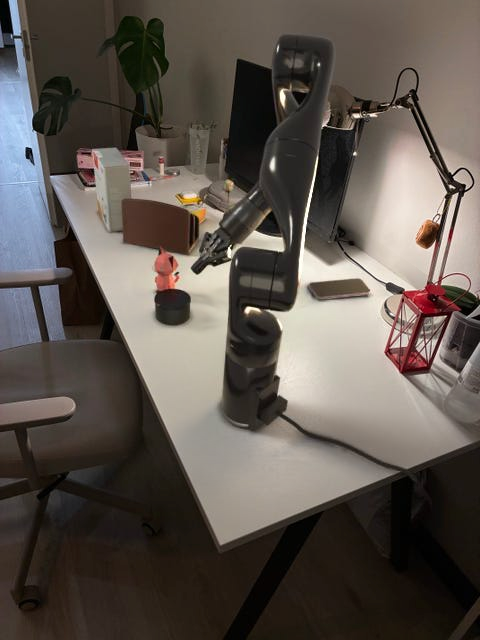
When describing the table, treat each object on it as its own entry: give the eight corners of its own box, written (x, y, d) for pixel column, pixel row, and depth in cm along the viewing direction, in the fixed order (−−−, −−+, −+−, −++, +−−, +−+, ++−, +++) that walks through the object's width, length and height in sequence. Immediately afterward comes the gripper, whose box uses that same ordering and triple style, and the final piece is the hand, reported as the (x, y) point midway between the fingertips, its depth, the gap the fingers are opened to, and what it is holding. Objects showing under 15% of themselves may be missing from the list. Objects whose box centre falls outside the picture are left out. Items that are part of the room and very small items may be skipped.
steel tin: (197, 316, 118) (198, 299, 115) (171, 330, 113) (170, 313, 110) (174, 301, 122) (174, 284, 120) (147, 314, 117) (146, 297, 114)
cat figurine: (147, 291, 125) (145, 248, 118) (170, 283, 129) (170, 241, 122) (162, 304, 121) (161, 260, 114) (186, 296, 125) (186, 253, 118)
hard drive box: (97, 211, 160) (91, 148, 149) (121, 209, 163) (117, 147, 152) (108, 232, 149) (103, 166, 137) (134, 229, 152) (130, 164, 140)
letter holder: (188, 255, 141) (189, 208, 133) (122, 243, 144) (119, 196, 136) (199, 240, 149) (200, 195, 141) (136, 229, 152) (134, 183, 144)
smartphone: (308, 282, 133) (360, 277, 136) (307, 286, 134) (359, 281, 137) (317, 297, 127) (372, 292, 130) (317, 301, 128) (371, 295, 131)
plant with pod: (249, 245, 149) (256, 179, 138) (214, 250, 145) (218, 183, 133) (238, 233, 155) (243, 169, 144) (204, 238, 151) (206, 172, 139)
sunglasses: (175, 230, 153) (173, 214, 151) (151, 218, 164) (150, 203, 161) (213, 221, 160) (213, 206, 158) (188, 210, 171) (188, 196, 168)
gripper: (221, 200, 124) (174, 251, 127) (245, 222, 115) (193, 277, 117) (239, 218, 130) (193, 266, 132) (263, 240, 120) (213, 292, 123)
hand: (193, 271), depth 125 cm, fingers closed
